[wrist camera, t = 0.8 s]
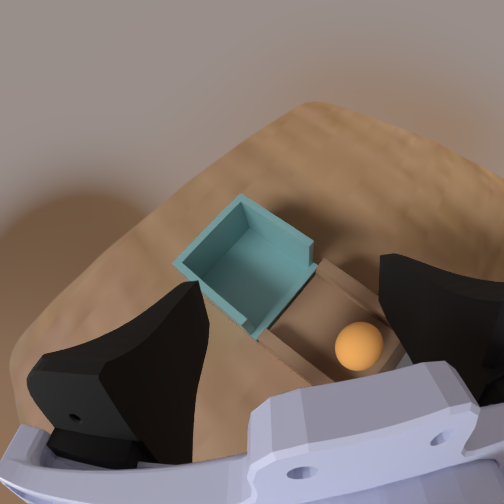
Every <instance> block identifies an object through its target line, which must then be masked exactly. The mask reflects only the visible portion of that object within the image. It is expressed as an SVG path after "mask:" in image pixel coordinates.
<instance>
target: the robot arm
mask: <svg viewBox="0 0 504 504" xmlns="http://www.w3.org/2000/svg"><path fill="white" fill-rule="evenodd" d="M378 300H379V303H380V305H381V308H382V310H383V313H384V315H385V317H386V319H387V321H388V323H389V324H390V326H391V328H392V329H393V331H394V333H395V334H396V336H397V337H398V339H399V341H400V342H401V344H402V346H403V347H404V349H405V351H406V352H407V354H408V356H409V358H410V360H411V362H412V363H413V365H411V366H407V367H403V368H399V369H395V370H391V371H387V372H383V373H379V374H375V375H370V376H365V377H361V378H356V379H351V380H346V381H340V382H335V383H329V384H323V385H317V386H311V387H304V388H298V389H295V390H292V391H289V392H285V393H282V394H279V395H275V396H272V397H270V398H269V399H267V400H266V401H265V402H264V403H262V404H261V405H260V406H259V407H257V408H256V409H255V410H254V411H252V412H251V415H250V420H249V425H248V445H247V453H242V454H238V455H233V456H228V457H223V458H218V459H213V460H207V461H201V462H195V463H192V451H193V427H194V413H195V403H196V394H197V389H198V384H199V380H200V375H201V371H202V367H203V363H204V359H205V355H206V350H207V346H208V338H209V325H210V323H209V319H208V316H207V312H206V308H205V304H204V300H203V296H202V292H201V288H200V284H199V280H197V281H188V282H183V283H181V284H180V285H178V286H177V287H176V288H174V289H173V290H172V291H170V292H169V293H168V294H167V295H165V296H164V297H163V298H162V299H160V300H159V301H158V302H157V303H155V304H154V305H153V306H151V307H150V308H148V309H147V310H146V311H144V312H143V313H142V314H140V315H139V316H137V317H136V318H134V319H133V320H131V321H130V322H128V323H126V324H124V325H123V326H121V327H119V328H117V329H116V330H113V331H111V332H109V333H107V334H105V335H103V336H101V337H99V338H96V339H94V340H91V341H89V342H86V343H83V344H80V345H77V346H75V347H71V348H68V349H64V350H60V351H56V352H52V353H47V354H44V355H43V356H42V357H41V358H40V359H39V361H38V362H37V363H36V365H35V366H34V367H33V369H32V370H31V371H30V373H29V374H28V377H27V387H28V390H29V392H30V395H31V397H32V398H33V400H34V401H35V403H36V404H37V406H38V407H39V408H40V410H41V411H42V412H43V414H44V415H45V416H46V417H47V419H48V420H49V421H50V422H51V424H52V425H53V426H54V427H55V428H54V430H53V432H52V434H49V433H48V432H46V431H45V430H42V429H39V428H36V427H32V426H29V425H26V424H21V425H20V427H19V429H18V431H17V432H16V434H15V436H14V437H13V439H12V441H11V443H10V444H9V446H8V448H7V450H6V452H5V454H4V455H3V457H2V459H1V461H0V482H1V483H3V484H4V485H5V486H6V487H7V488H9V489H10V490H11V491H12V492H14V493H15V494H16V495H18V496H19V497H20V498H21V499H23V500H24V501H25V502H26V503H28V504H504V282H494V281H487V280H480V279H475V278H470V277H466V276H462V275H458V274H454V273H451V272H448V271H445V270H442V269H439V268H436V267H433V266H430V265H428V264H425V263H422V262H420V261H417V260H414V259H411V258H409V257H406V256H403V255H399V254H394V253H393V254H387V255H380V276H379V297H378Z"/></svg>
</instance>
